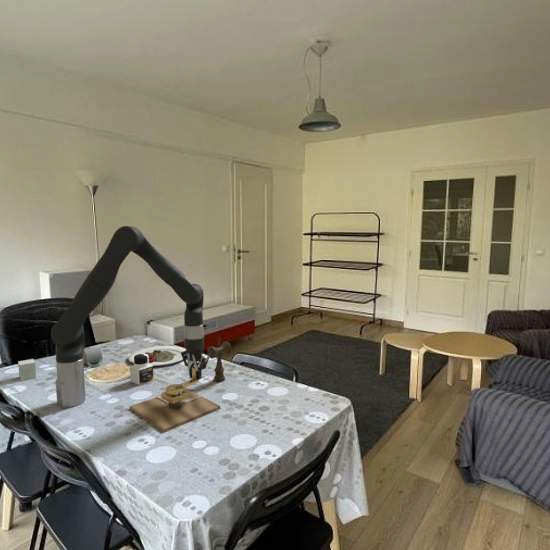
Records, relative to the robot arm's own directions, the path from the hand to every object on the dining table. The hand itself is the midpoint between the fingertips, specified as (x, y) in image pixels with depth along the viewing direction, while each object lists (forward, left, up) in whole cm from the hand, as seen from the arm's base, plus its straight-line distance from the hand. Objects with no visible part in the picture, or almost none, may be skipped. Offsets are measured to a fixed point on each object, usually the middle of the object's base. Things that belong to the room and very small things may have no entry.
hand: (195, 378), depth 154 cm
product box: (-40, +72, -9) cm, 83 cm away
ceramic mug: (-12, +69, -9) cm, 71 cm away
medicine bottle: (-6, +32, -9) cm, 34 cm away
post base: (-10, -1, -9) cm, 13 cm away
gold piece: (-6, 0, -5) cm, 8 cm away
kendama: (+19, +9, -9) cm, 23 cm away
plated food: (+15, +54, -9) cm, 57 cm away
